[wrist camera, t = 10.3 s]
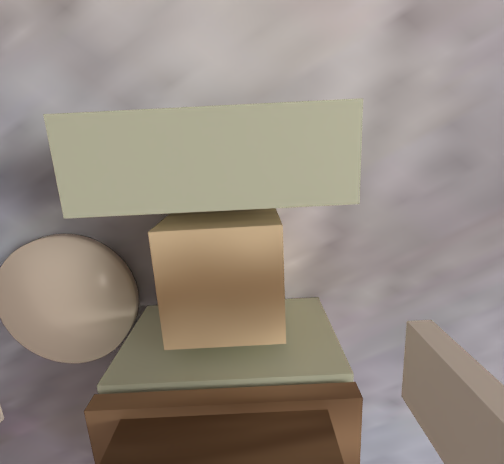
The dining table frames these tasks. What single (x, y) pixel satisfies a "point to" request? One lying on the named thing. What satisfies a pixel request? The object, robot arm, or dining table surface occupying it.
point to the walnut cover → (228, 425)
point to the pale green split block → (214, 199)
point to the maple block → (219, 278)
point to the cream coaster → (67, 298)
